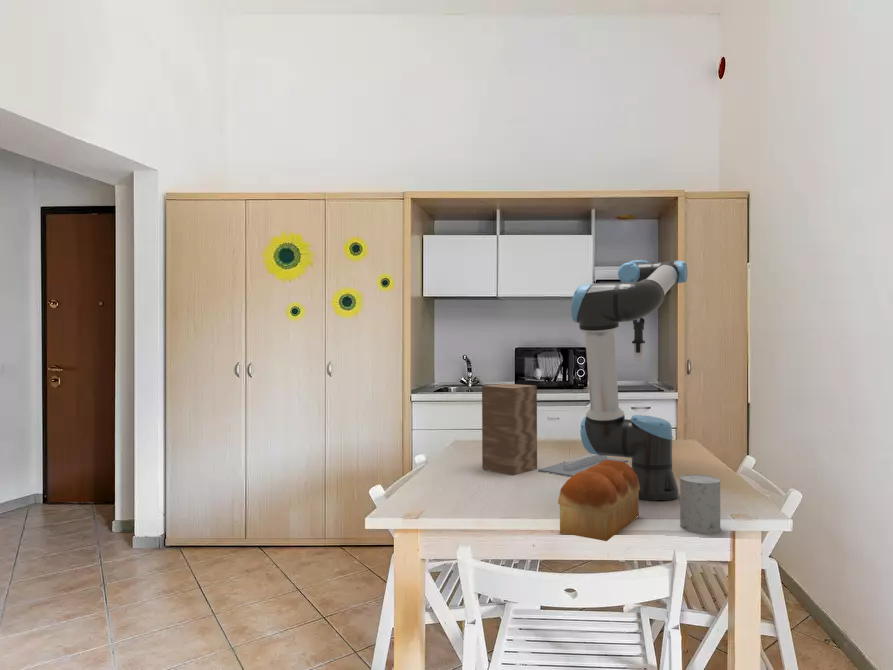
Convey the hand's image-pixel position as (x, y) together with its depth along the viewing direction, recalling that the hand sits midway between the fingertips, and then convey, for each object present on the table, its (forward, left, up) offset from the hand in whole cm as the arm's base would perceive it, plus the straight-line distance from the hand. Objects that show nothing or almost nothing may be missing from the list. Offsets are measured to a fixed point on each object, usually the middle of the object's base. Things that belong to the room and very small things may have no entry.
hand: (638, 361), depth 231 cm
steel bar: (-5, +18, -38) cm, 42 cm away
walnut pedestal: (-18, +44, -38) cm, 61 cm away
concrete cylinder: (-70, -17, -39) cm, 82 cm away
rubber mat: (-5, +19, -38) cm, 43 cm away
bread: (-75, +7, -39) cm, 85 cm away
